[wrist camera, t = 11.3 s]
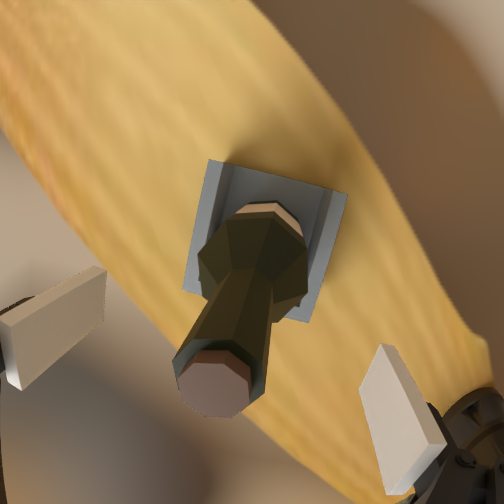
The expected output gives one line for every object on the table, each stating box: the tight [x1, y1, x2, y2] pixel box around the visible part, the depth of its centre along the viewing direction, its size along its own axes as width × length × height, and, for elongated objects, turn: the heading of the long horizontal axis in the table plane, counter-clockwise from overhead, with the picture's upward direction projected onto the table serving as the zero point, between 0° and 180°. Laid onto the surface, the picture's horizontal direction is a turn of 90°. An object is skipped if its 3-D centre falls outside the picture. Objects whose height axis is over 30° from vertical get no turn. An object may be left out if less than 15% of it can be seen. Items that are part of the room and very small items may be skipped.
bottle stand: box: [182, 159, 348, 323], centre depth 36 cm, size 14×14×8 cm
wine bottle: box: [172, 200, 308, 418], centre depth 24 cm, size 8×8×30 cm
